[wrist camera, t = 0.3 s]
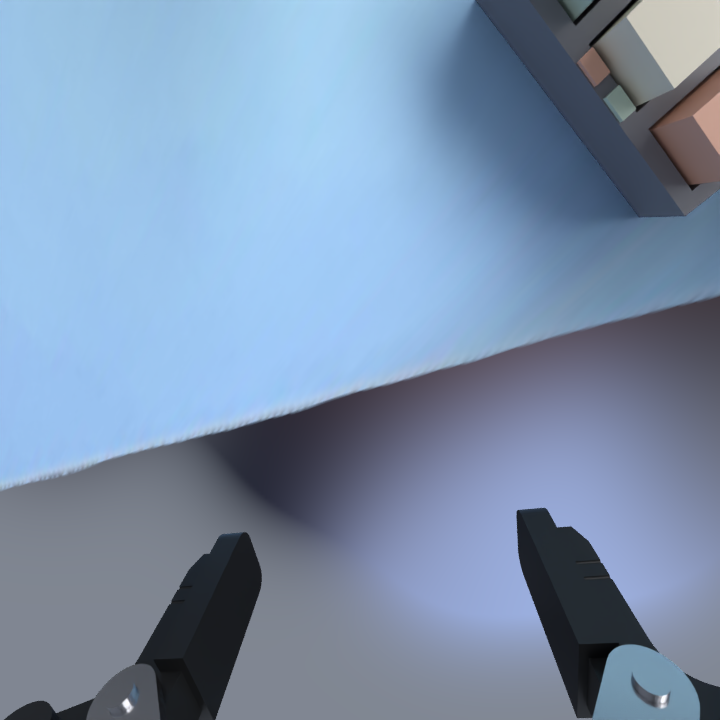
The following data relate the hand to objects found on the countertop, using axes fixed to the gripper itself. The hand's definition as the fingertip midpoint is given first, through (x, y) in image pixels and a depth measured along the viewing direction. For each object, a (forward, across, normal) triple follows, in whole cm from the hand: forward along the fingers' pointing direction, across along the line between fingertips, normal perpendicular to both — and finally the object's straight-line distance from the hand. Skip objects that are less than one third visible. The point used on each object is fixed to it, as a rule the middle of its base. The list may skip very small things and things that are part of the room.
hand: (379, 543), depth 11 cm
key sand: (+25, -20, -16) cm, 36 cm away
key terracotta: (+24, -24, -11) cm, 36 cm away
